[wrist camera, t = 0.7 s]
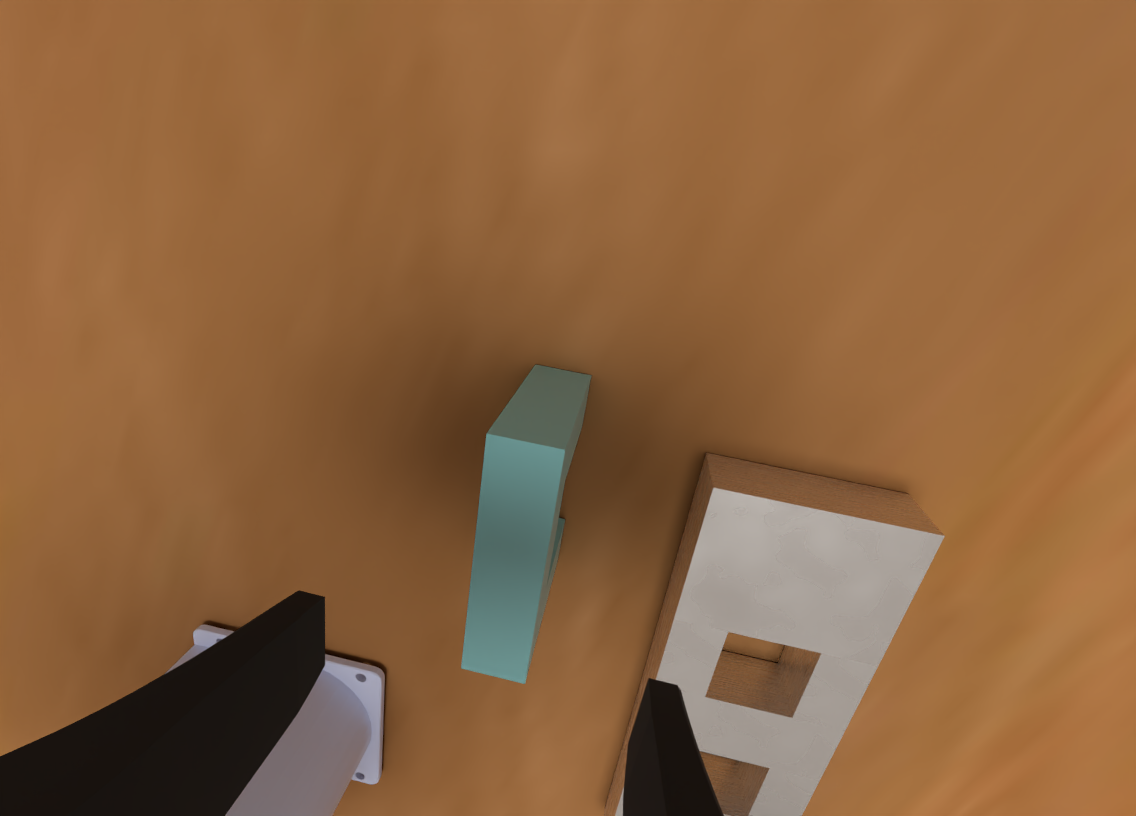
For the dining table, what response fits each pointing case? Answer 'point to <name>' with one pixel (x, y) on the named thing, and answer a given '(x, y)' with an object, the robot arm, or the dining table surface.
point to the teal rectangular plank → (521, 520)
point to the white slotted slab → (780, 623)
